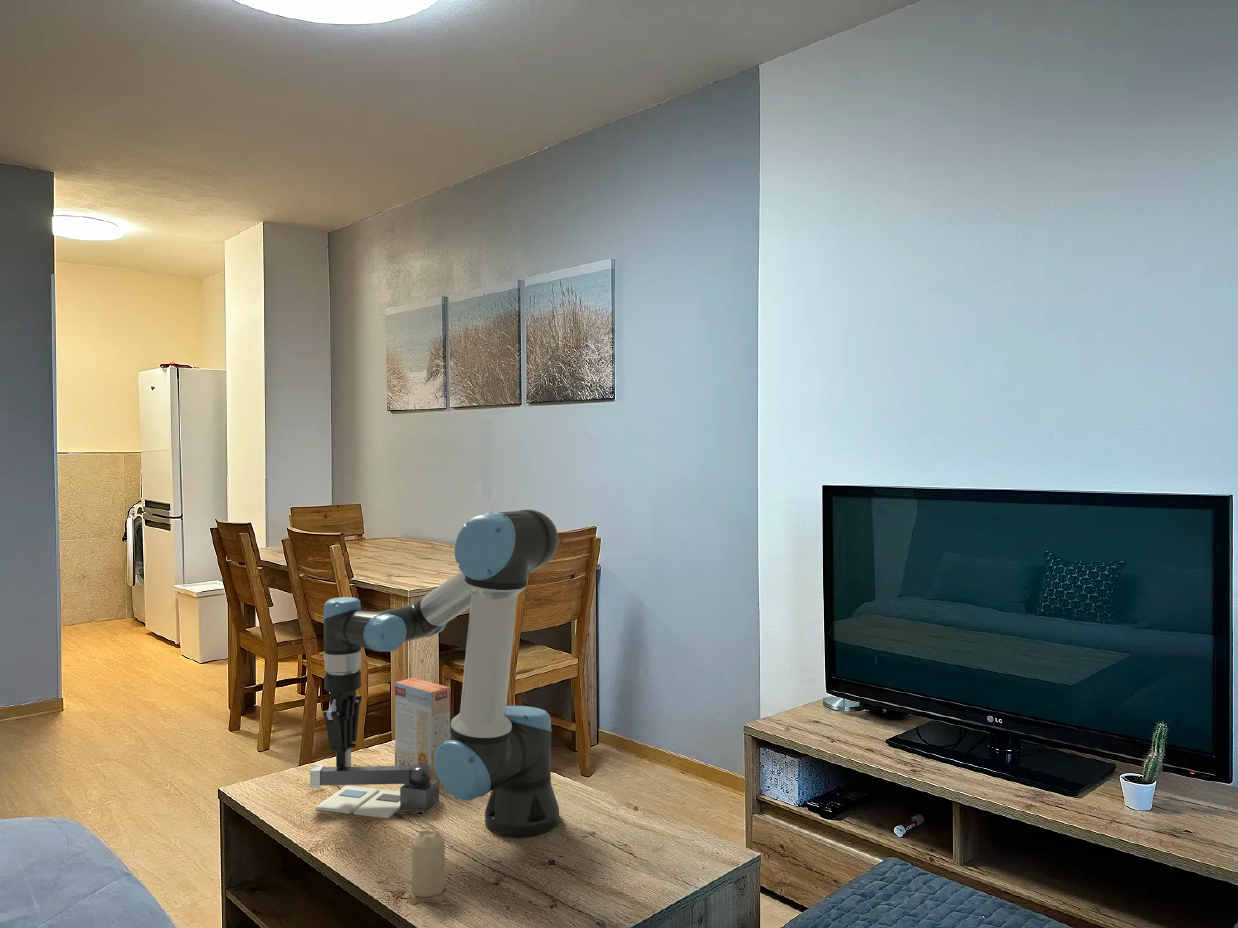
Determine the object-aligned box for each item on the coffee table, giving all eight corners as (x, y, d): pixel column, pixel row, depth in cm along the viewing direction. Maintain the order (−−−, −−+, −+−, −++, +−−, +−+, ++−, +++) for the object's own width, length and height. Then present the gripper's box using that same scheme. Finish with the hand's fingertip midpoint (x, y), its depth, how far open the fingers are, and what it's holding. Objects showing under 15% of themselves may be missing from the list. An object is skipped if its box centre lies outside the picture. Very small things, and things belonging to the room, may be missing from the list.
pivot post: (438, 800, 190) (438, 779, 189) (426, 811, 184) (426, 790, 184) (413, 797, 191) (413, 777, 191) (400, 808, 185) (400, 787, 185)
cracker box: (451, 775, 204) (451, 686, 203) (430, 783, 199) (430, 692, 198) (414, 761, 213) (414, 675, 212) (393, 768, 208) (393, 680, 208)
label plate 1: (378, 791, 194) (378, 787, 194) (349, 813, 183) (349, 809, 183) (346, 787, 196) (346, 784, 196) (315, 809, 185) (315, 805, 185)
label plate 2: (415, 795, 192) (415, 792, 192) (388, 818, 180) (388, 814, 180) (382, 791, 194) (382, 788, 194) (353, 814, 182) (353, 810, 182)
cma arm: (431, 778, 190) (431, 762, 190) (428, 786, 185) (428, 769, 185) (315, 780, 188) (315, 764, 188) (309, 788, 184) (309, 771, 184)
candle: (446, 881, 155) (447, 825, 155) (441, 897, 149) (441, 839, 149) (415, 881, 155) (415, 825, 154) (409, 897, 149) (409, 839, 149)
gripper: (340, 662, 195) (341, 767, 195) (310, 677, 182) (312, 790, 183) (372, 663, 193) (373, 769, 194) (344, 679, 181) (345, 792, 181)
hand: (343, 779), depth 188 cm, fingers closed
